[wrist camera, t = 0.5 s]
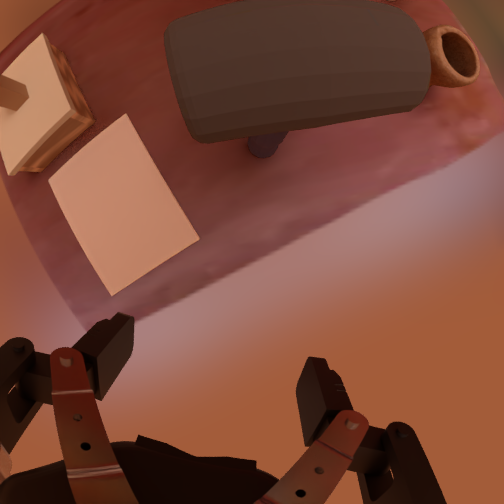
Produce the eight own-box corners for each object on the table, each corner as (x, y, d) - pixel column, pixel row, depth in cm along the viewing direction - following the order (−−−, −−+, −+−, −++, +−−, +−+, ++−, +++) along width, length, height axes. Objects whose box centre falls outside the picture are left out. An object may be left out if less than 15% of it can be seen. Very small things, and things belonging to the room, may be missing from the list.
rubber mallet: (223, 181, 38) (173, 138, 9) (211, 131, 37) (147, -9, 7) (311, 162, 38) (462, 101, 9) (298, 112, 37) (403, -21, 7)
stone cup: (403, 114, 37) (461, 90, 22) (362, 54, 35) (405, 10, 20) (451, 88, 36) (503, 67, 21) (415, 35, 34) (459, 2, 19)
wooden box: (16, 101, 33) (-6, 93, 26) (64, 54, 32) (45, 39, 25) (41, 172, 36) (15, 170, 29) (95, 121, 35) (72, 111, 28)
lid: (-5, 95, 27) (-50, 81, 15) (49, 38, 26) (8, 9, 14) (18, 175, 30) (-40, 175, 18) (80, 113, 29) (24, 88, 17)
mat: (49, 180, 37) (48, 180, 36) (126, 114, 35) (125, 113, 35) (112, 295, 41) (111, 296, 40) (200, 238, 40) (199, 239, 39)
